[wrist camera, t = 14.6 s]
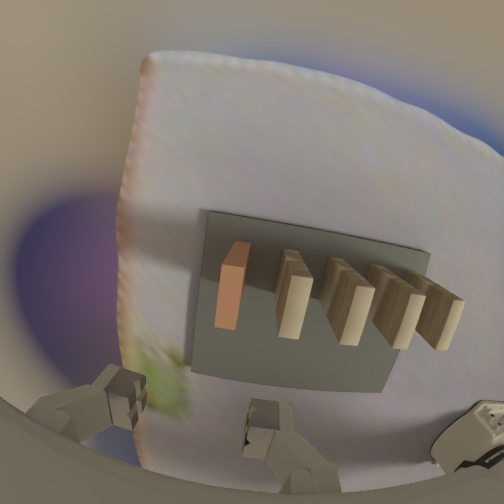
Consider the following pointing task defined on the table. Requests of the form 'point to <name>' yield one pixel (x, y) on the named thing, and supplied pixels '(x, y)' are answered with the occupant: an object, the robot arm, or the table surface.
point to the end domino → (232, 285)
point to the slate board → (315, 321)
